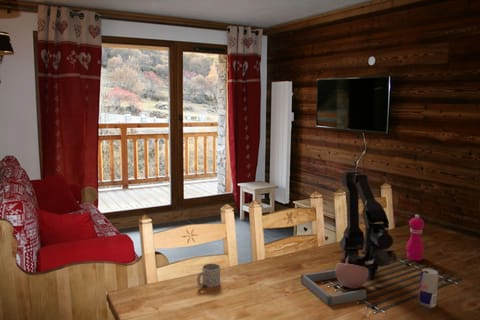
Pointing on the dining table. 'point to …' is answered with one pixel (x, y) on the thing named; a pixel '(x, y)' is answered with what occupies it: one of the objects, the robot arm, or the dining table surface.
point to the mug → (210, 275)
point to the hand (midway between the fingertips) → (371, 279)
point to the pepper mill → (415, 239)
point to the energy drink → (428, 287)
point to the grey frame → (324, 296)
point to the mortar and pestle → (351, 274)
